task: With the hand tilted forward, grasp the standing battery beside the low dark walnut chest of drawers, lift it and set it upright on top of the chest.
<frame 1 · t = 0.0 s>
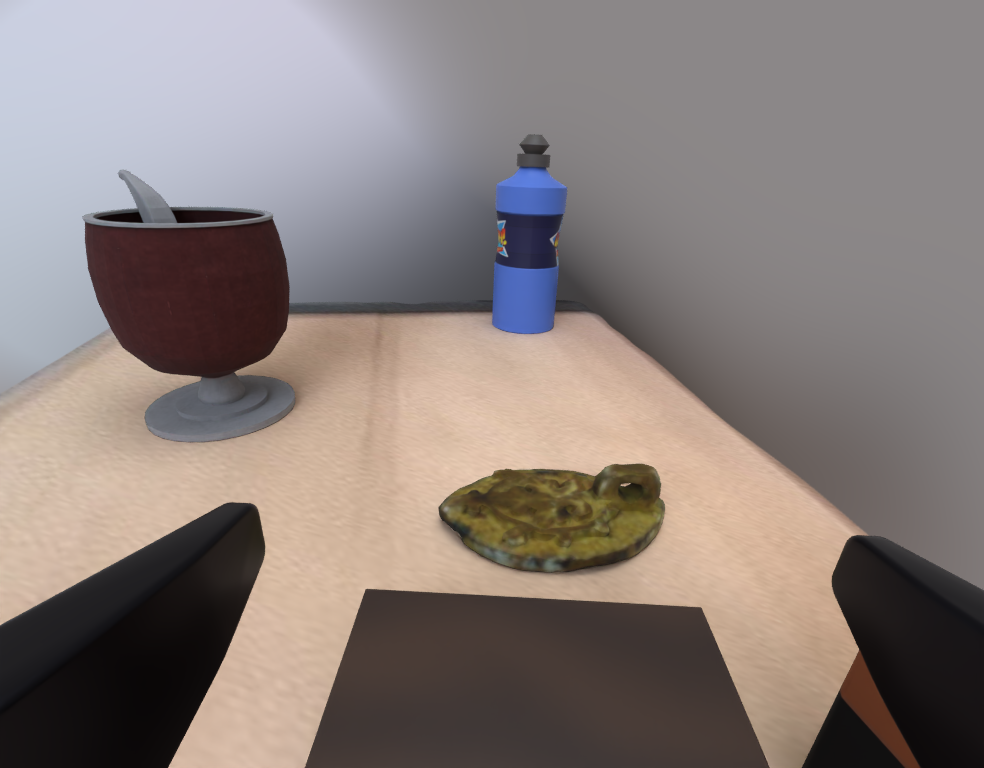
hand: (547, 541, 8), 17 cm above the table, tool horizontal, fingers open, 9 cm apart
water bottle: (522, 325, 73), on the table
olive oval relief: (551, 523, 33), on the table
mate gourd: (220, 407, 47), on the table
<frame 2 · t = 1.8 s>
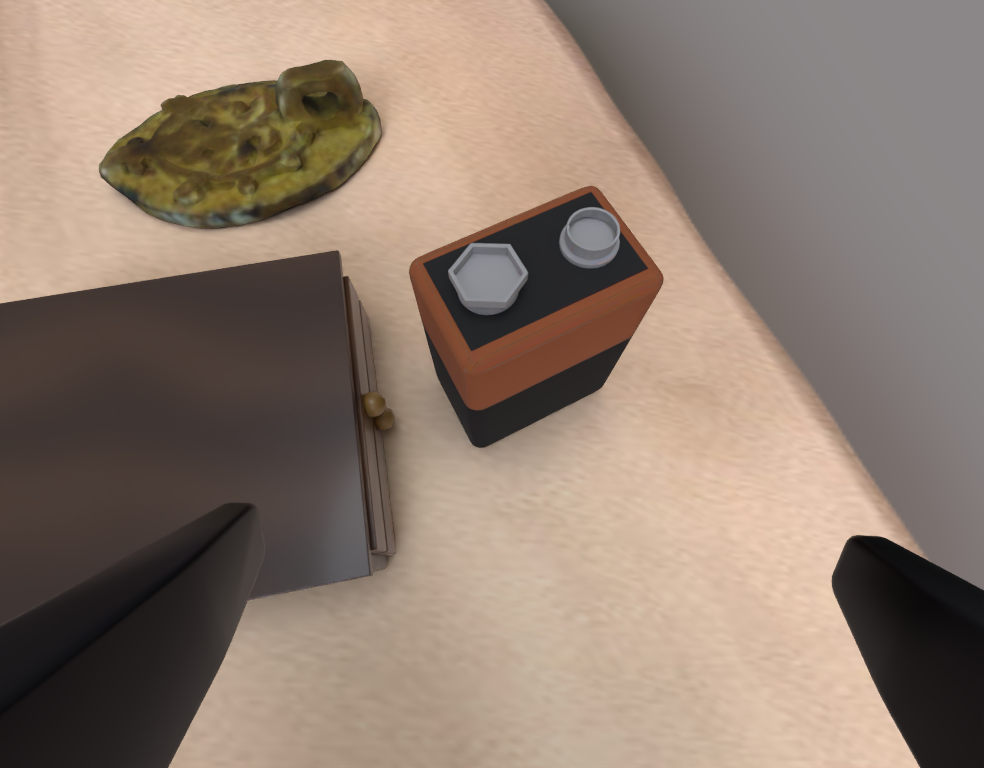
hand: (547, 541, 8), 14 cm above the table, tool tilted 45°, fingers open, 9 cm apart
olive oval relief: (253, 160, 28), on the table
battery: (519, 382, 23), on the table
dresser: (213, 457, 22), on the table
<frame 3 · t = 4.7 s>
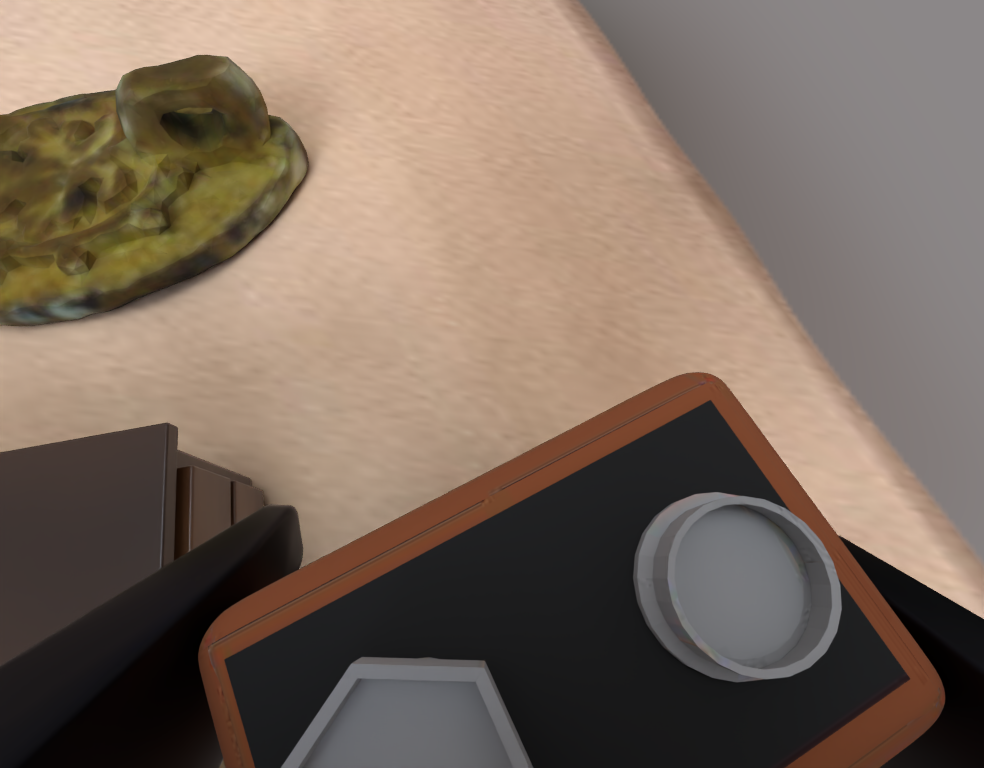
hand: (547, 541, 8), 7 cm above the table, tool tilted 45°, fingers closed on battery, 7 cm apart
olive oval relief: (110, 211, 18), on the table
battery: (519, 608, 14), on the table, touching gripper
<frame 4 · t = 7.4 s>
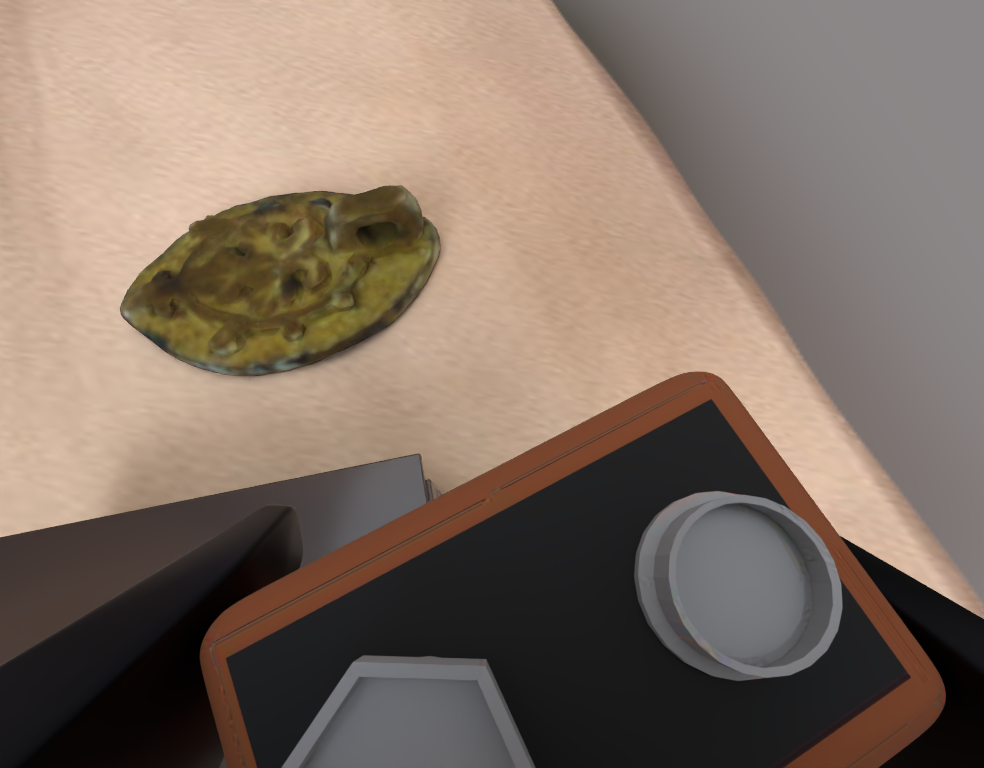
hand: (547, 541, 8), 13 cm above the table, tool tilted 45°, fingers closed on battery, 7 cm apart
olive oval relief: (294, 285, 25), on the table
battery: (520, 608, 14), point 6 cm above the table, touching gripper
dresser: (268, 681, 18), on the table
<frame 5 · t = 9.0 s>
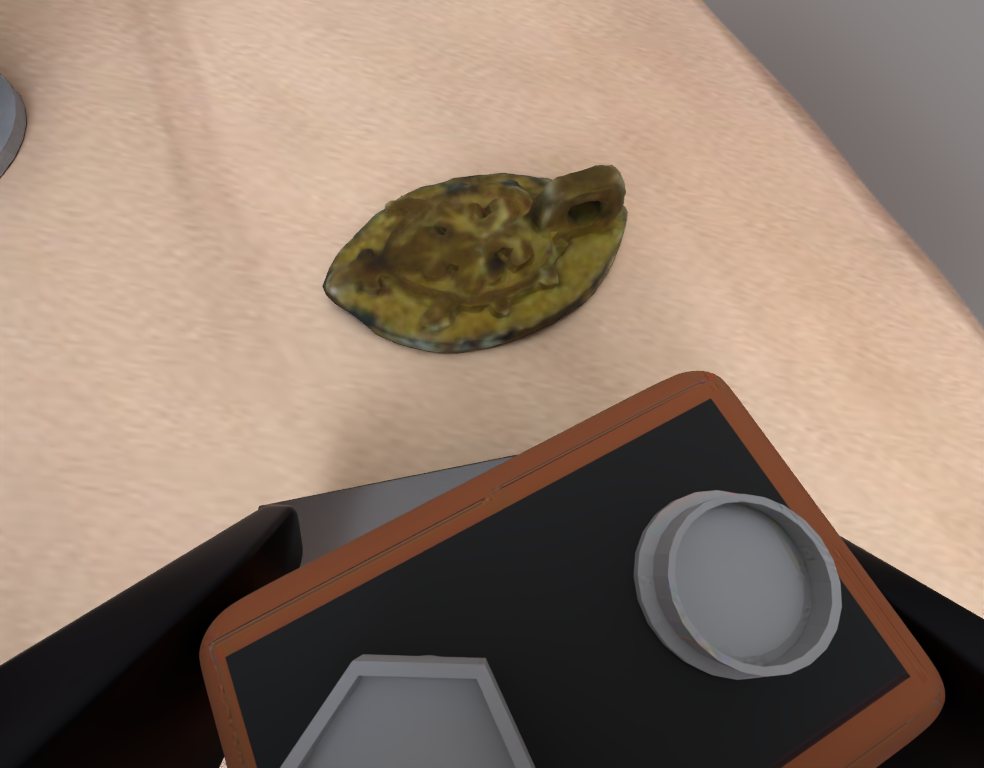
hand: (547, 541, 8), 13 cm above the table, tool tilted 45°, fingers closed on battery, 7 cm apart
olive oval relief: (479, 265, 25), on the table
battery: (520, 608, 14), point 6 cm above the table, touching gripper
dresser: (512, 647, 19), on the table
when the fingers open (11 cm above the table, at t = 10.3 s): battery stays where it is, resting on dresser.
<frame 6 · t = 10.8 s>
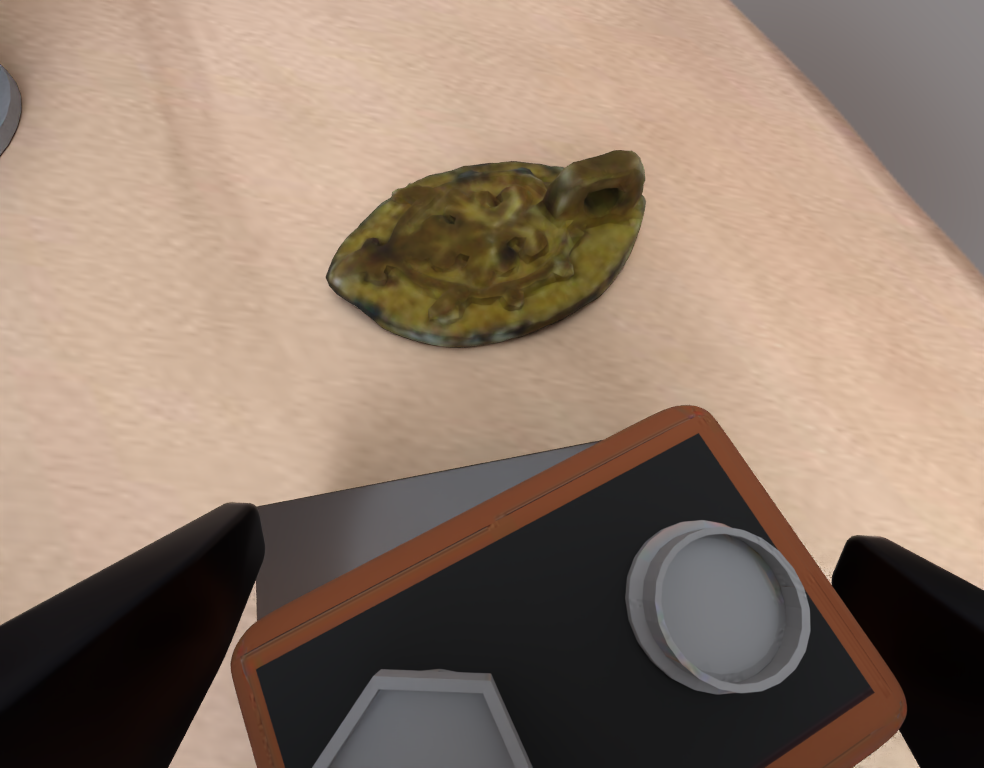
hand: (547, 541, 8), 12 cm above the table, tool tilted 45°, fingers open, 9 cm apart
olive oval relief: (490, 257, 24), on the table
battery: (520, 614, 14), point 4 cm above the table, touching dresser
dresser: (525, 661, 18), on the table
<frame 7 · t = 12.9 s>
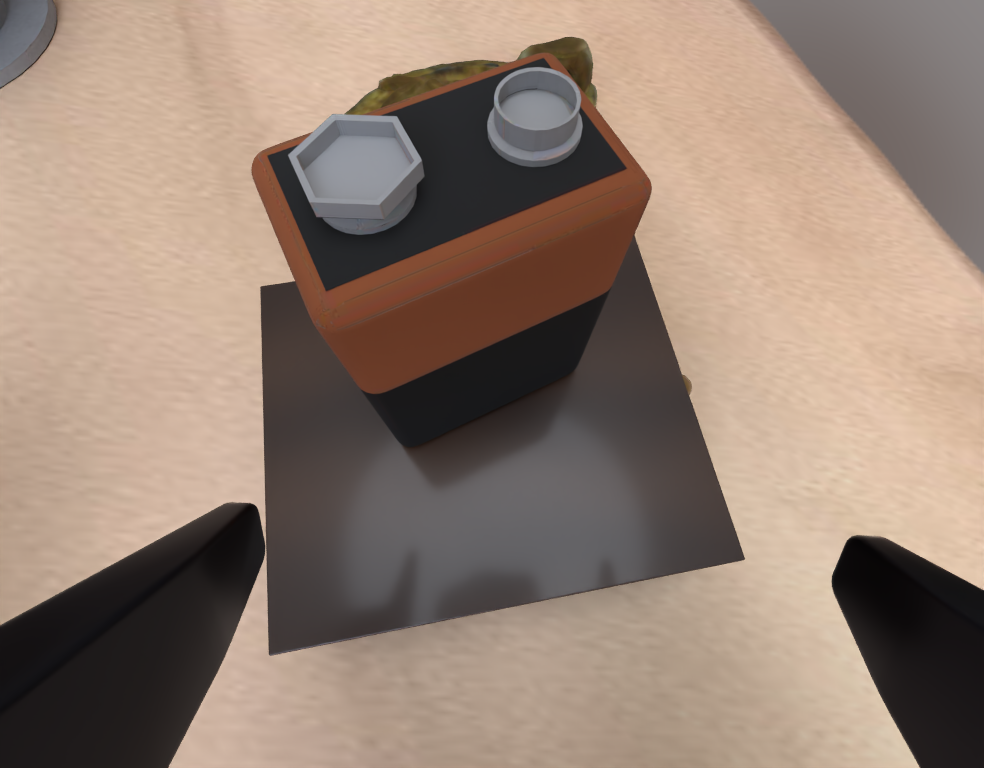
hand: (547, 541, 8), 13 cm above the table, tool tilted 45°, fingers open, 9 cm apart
olive oval relief: (463, 142, 28), on the table
battery: (469, 362, 18), point 4 cm above the table, touching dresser
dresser: (481, 441, 21), on the table
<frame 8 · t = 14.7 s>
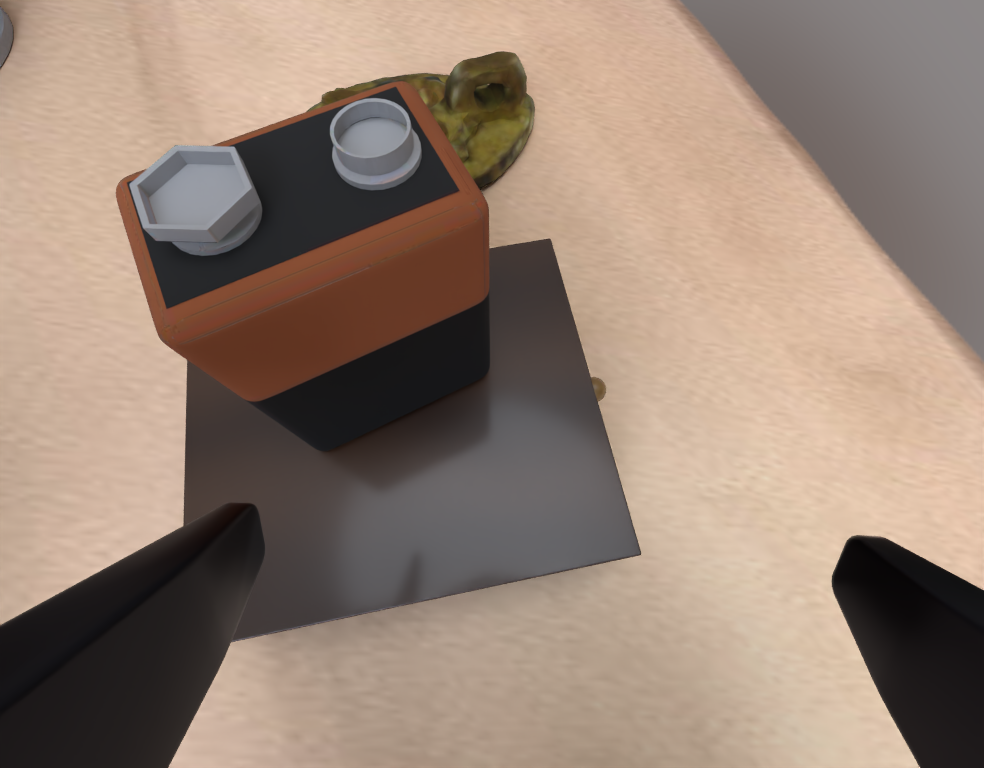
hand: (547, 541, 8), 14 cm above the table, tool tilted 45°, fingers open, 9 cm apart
olive oval relief: (406, 153, 28), on the table
battery: (387, 368, 19), point 4 cm above the table, touching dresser
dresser: (412, 444, 22), on the table
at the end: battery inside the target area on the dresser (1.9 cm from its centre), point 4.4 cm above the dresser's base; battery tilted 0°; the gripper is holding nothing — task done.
